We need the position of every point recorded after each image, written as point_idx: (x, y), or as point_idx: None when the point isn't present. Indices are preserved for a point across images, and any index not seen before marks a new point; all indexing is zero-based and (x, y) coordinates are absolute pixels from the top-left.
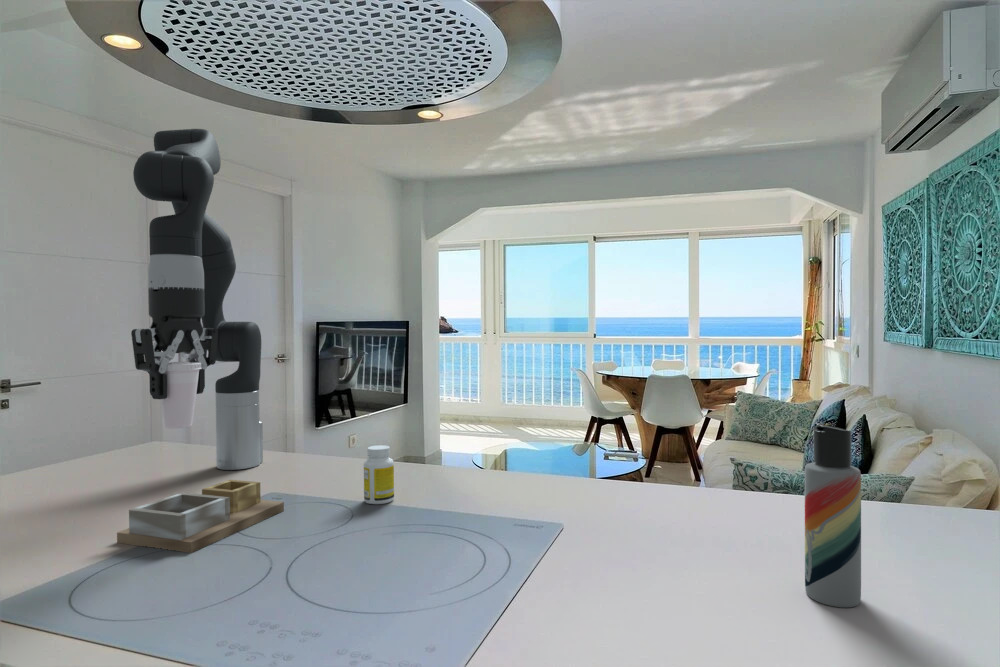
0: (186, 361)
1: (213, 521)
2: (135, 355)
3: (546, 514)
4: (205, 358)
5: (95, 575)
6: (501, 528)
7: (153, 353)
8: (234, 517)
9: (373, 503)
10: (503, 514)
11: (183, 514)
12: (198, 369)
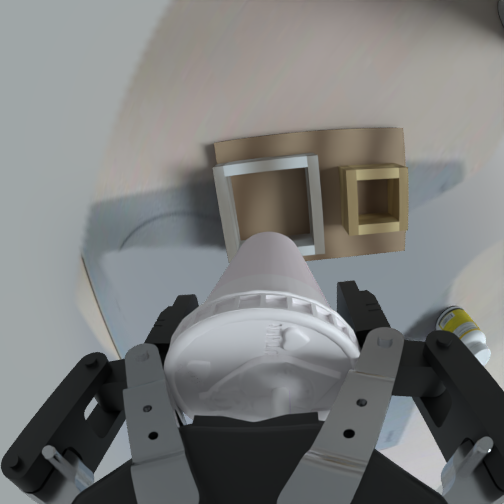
0: (332, 380)
1: None
2: (59, 395)
3: (415, 433)
4: (421, 389)
5: (149, 224)
6: (381, 429)
7: (107, 444)
8: (328, 241)
9: (436, 326)
10: (414, 417)
11: None
12: None
